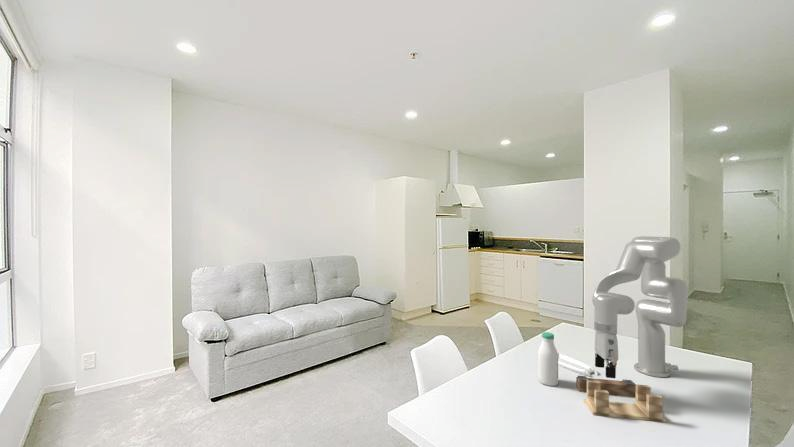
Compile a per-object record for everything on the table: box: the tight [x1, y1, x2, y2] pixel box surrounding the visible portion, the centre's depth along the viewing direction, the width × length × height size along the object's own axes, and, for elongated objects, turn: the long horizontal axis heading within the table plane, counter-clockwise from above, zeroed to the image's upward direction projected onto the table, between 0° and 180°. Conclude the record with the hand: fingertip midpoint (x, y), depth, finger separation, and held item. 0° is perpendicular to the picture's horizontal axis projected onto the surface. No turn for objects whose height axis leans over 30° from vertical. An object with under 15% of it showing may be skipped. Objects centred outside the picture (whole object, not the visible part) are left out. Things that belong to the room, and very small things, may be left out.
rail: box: [575, 375, 636, 398], centre depth 128 cm, size 20×4×5 cm, turn 78°
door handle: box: [557, 352, 599, 378], centre depth 153 cm, size 3×10×25 cm
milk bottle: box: [537, 331, 559, 387], centre depth 136 cm, size 8×8×20 cm
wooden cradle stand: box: [583, 380, 667, 423], centre depth 115 cm, size 22×8×8 cm, turn 79°
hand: (604, 372), depth 128 cm, fingers open, 9 cm apart
